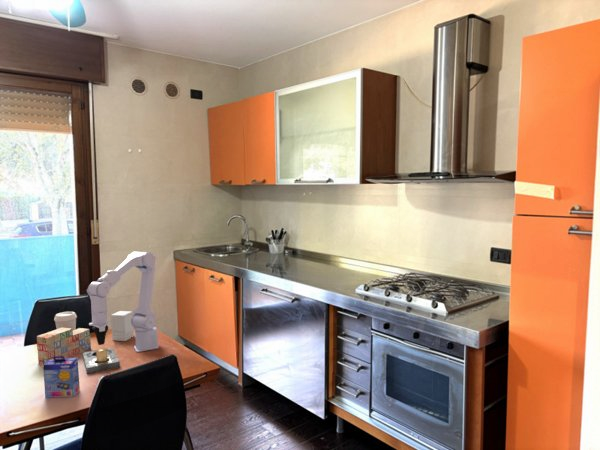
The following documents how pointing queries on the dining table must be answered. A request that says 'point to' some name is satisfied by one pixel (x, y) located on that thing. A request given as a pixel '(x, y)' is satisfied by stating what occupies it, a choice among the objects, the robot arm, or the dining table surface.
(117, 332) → the supplement box
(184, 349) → the dining table surface
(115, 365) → the plate
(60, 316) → the coffee cup
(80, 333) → the stack of blocks
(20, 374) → the dining table surface
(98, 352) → the gold rounded cylinder
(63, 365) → the ink cartridge box
